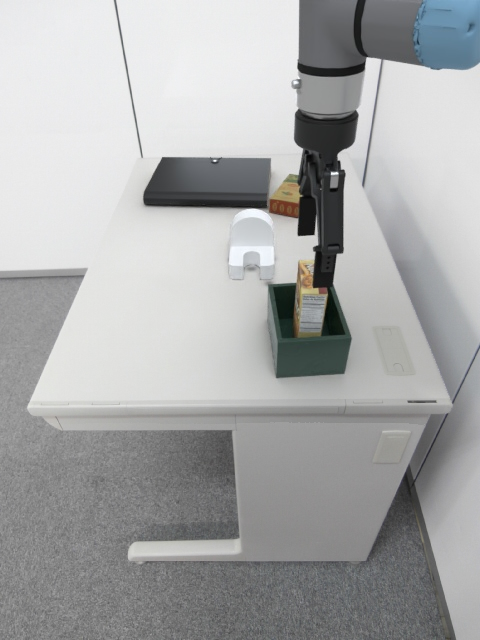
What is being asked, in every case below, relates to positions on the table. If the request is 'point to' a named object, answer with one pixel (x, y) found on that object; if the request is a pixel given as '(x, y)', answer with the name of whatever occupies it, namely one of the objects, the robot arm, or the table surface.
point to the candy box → (308, 303)
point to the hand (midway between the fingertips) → (313, 258)
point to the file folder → (210, 182)
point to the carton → (286, 197)
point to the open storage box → (306, 352)
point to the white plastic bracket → (251, 243)
